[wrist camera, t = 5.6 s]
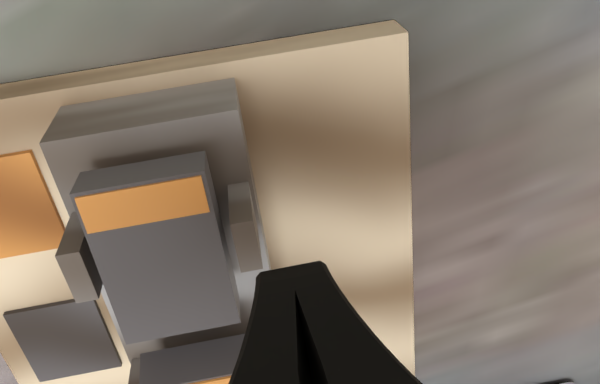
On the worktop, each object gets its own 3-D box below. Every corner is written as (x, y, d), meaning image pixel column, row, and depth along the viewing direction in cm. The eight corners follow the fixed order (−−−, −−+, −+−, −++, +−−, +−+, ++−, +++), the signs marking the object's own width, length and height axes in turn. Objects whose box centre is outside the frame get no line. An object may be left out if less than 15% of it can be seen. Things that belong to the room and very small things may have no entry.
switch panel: (406, 397, 28) (450, 517, 23) (88, 461, 27) (60, 601, 22) (394, 19, 18) (466, 84, 13) (-110, 102, 17) (-243, 205, 12)
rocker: (238, 296, 17) (240, 324, 16) (131, 316, 16) (125, 346, 15) (205, 150, 14) (204, 172, 13) (80, 172, 14) (68, 195, 13)
